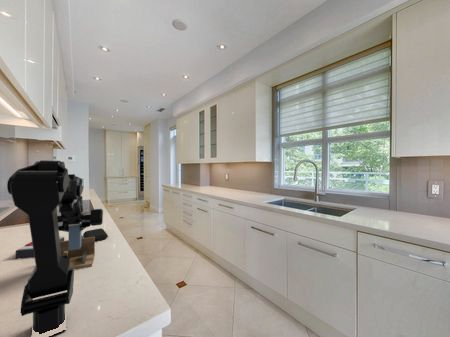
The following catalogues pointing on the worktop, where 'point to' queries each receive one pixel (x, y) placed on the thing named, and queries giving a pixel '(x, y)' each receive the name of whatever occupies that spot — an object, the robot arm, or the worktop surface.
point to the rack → (80, 253)
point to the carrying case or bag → (96, 234)
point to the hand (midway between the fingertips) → (75, 230)
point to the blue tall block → (74, 236)
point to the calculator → (28, 250)
